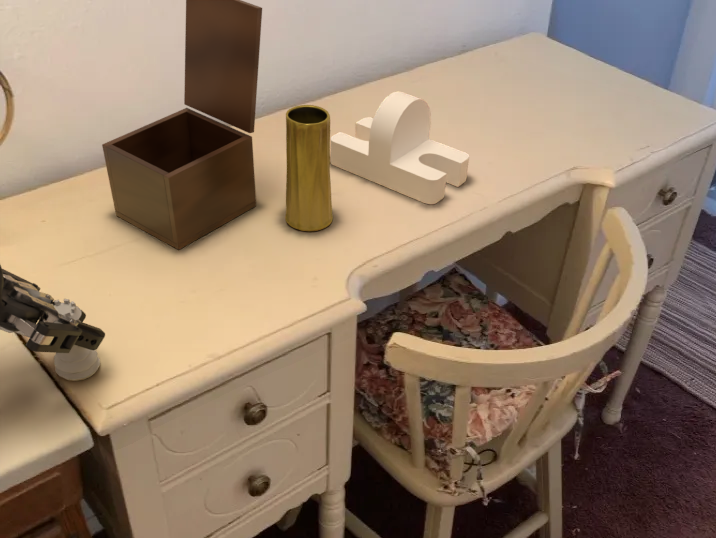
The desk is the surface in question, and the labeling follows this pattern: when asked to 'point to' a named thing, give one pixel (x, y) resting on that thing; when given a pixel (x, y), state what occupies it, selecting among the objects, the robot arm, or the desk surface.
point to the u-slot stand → (400, 151)
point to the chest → (181, 176)
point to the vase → (308, 168)
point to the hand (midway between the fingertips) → (89, 330)
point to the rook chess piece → (74, 350)
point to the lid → (223, 59)
